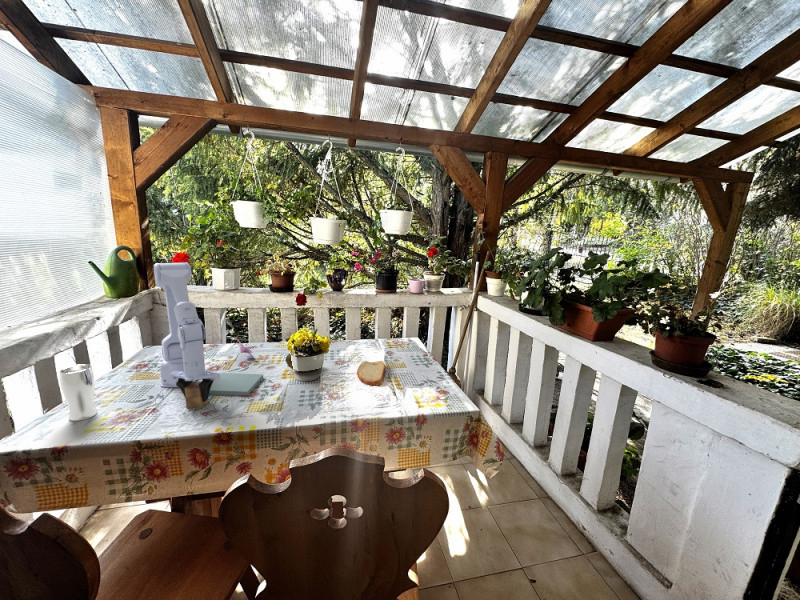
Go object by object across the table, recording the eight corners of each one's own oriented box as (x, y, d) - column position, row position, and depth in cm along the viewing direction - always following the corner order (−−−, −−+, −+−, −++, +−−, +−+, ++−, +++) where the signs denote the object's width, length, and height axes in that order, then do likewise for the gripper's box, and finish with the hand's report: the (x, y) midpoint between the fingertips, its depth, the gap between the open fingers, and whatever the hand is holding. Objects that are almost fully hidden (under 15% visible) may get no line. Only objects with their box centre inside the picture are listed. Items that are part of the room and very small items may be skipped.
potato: (317, 375, 134) (316, 356, 132) (284, 374, 132) (283, 355, 131) (320, 366, 142) (320, 348, 140) (289, 366, 141) (288, 348, 139)
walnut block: (186, 408, 106) (184, 387, 104) (194, 401, 110) (193, 381, 109) (200, 408, 106) (199, 388, 104) (208, 401, 110) (207, 382, 109)
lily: (251, 367, 141) (260, 345, 143) (222, 358, 137) (232, 336, 139) (252, 365, 152) (260, 345, 154) (225, 357, 148) (234, 336, 150)
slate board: (194, 393, 115) (194, 389, 114) (216, 376, 128) (215, 372, 128) (247, 395, 115) (247, 391, 115) (263, 377, 129) (263, 374, 129)
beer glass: (80, 409, 102) (73, 363, 99) (105, 409, 103) (98, 363, 100) (60, 422, 96) (51, 373, 93) (86, 422, 96) (78, 373, 93)
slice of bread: (374, 389, 125) (375, 380, 124) (342, 375, 135) (342, 366, 135) (404, 374, 138) (404, 366, 137) (372, 362, 149) (373, 354, 148)
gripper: (161, 364, 101) (166, 405, 104) (210, 366, 101) (213, 407, 104) (176, 355, 108) (180, 394, 110) (222, 357, 108) (224, 396, 111)
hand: (197, 400), depth 108 cm, fingers closed on walnut block, 4 cm apart
